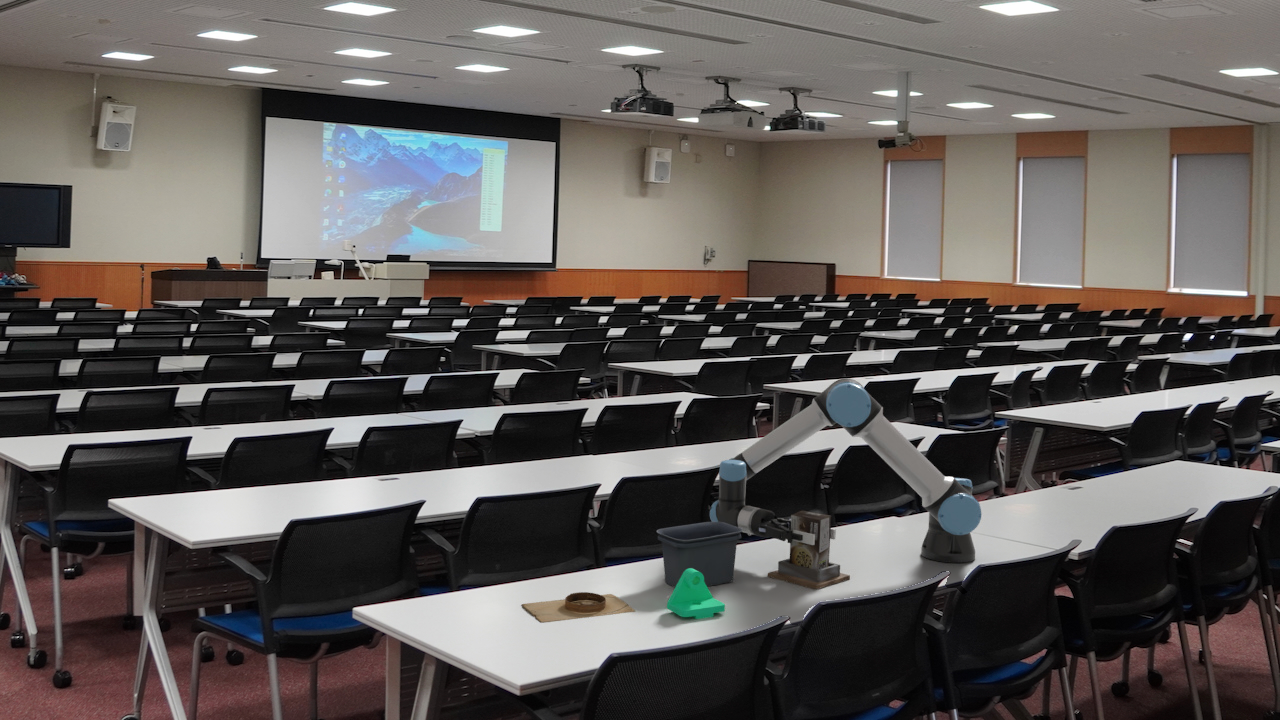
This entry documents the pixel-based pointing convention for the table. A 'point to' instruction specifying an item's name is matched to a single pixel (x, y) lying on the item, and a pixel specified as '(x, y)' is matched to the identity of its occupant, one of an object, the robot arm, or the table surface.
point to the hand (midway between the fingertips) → (824, 537)
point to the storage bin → (700, 551)
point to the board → (577, 607)
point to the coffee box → (819, 552)
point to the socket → (808, 575)
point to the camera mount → (693, 597)
